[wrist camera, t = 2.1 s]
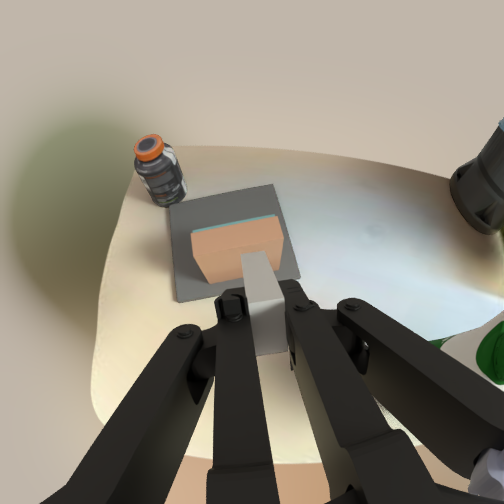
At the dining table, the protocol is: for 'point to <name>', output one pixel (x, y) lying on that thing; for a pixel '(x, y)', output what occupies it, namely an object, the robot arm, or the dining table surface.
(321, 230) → the dining table surface
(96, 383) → the dining table surface
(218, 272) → the tile
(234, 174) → the dining table surface
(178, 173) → the pill bottle
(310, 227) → the dining table surface
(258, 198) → the mat
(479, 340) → the milk carton
